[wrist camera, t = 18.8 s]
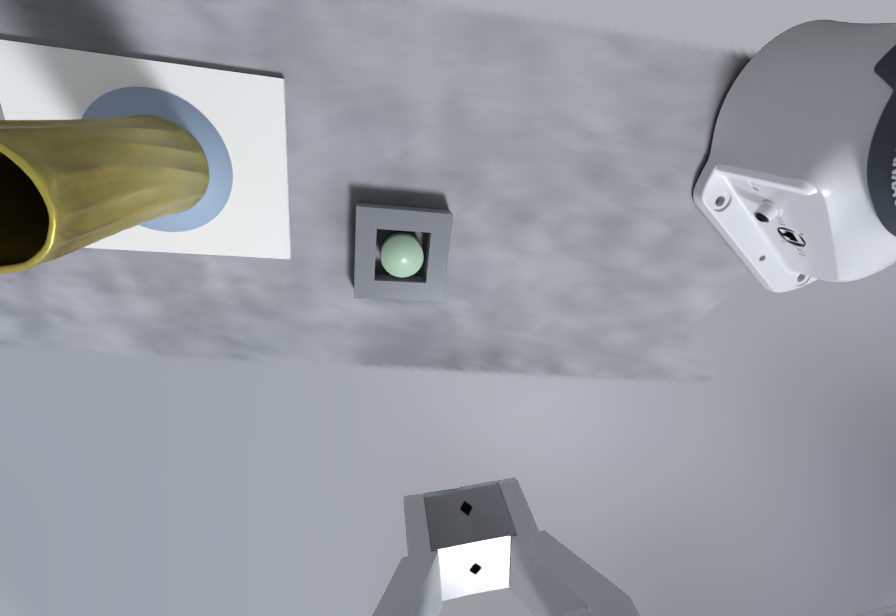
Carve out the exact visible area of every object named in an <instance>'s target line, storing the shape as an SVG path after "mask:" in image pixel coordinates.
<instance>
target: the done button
mask: <svg viewBox="0 0 896 616" xmlns="http://www.w3.org/2000/svg"><path fill="white" fill-rule="evenodd" d="M423 258H424V256H423V250H422V248H421V246H420V243H419V241H418V240H417V239H416V238H415V237H414V236H413V235H411V234H409V233H406V232H397V233H393V234H391V235H390V236H388V237H387V238H386V239H385V240H384V242H383V243H382V246H381V262H382V265H383V267H384V268H385V270H386V271H387V272H388V273H390V274H391V275H393V276H396V277H408V276H411V275H413V274H415V273H416V272H417V271H418V270H419V269H420V267H421V266H422V263H423Z"/></svg>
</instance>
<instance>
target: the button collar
mask: <svg viewBox="0 0 896 616" xmlns="http://www.w3.org/2000/svg"><path fill="white" fill-rule="evenodd" d="M452 218H453V214H452V213H451V212H450V211H449V210H441V209H429V208H417V207H405V206H393V205H382V204H370V203H358V202H357V204H356V233H355V272H354V298H370V299H395V300H420V301H443V296H444V287H445V278H446V270H447V261H448V252H449V244H450V235H451V227H452ZM377 229H386V230H400V231H414V232H427V233H428V237H427V247H426V258H425V268H424V276H408V277H396V276H393V275H389V274H375V256H376V234H377Z"/></svg>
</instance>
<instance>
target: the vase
mask: <svg viewBox="0 0 896 616" xmlns="http://www.w3.org/2000/svg"><path fill="white" fill-rule="evenodd" d="M208 184H209V167H208V163H207V160H206V157H205V155H204V153H203V151H202V149H201V148H200V146H199V145H198V143H197V142H196V141H195V140H194V139H193V138H192V137H191V136H190V135H189V134H188V133H187V132H186V131H185V130H184V129H182V128H181V127H180V126H178V125H177V124H175V123H173V122H171V121H169V120H166V119H164V118H161V117H158V116H153V115H134V116H130V117H120V118H109V119H74V120H0V274H4V273H11V272H18V271H23V270H26V269H30V268H32V267H34V266H37V265H39V264H41V263H45V262H48V261H51V260H54V259H57V258H59V257H62V256H64V255H66V254H69V253H71V252H74V251H76V250H78V249H81V248H83V247H86V246H88V245H90V244H92V243H95V242H97V241H99V240H101V239H104V238H106V237H109V236H112V235H114V234H116V233H118V232H121V231H123V230H126V229H129V228H132V227H134V226H137V225H139V224H142V223H144V222H146V221H149V220H153V219H156V218H159V217H163V216H166V215H169V214H175V213H180V212H184V211H187V210H189V209H191V208H192V207H194V206H195V205H196V204H197V203H198V202H199V201H200V200H201V199H202V198H203V197H204V195H205V194H206V191H207V188H208Z"/></svg>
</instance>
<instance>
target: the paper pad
mask: <svg viewBox="0 0 896 616" xmlns="http://www.w3.org/2000/svg"><path fill="white" fill-rule="evenodd" d="M0 103H1V106H2V110H3V114H4V117H5V120H74V119H109V118H120V117H130V116H134V115H153V116H158V117H161V118H164V119H166V120H169V121H171V122H173V123H175V124H177V125H178V126H180V127H181V128H182V129H184V130H185V131H186V132H187V133H188V134H189V135H190V136H191V137H192V138H193V139H194V140H195V141H196V142H197V143H198V145H199V146H200V148H201V149H202V151H203V153H204V155H205V157H206V160H207V163H208V167H209V184H208V188H207V191H206V194H205V195H204V197H203V198H202V199H201V200H200V201H199V202H198V203H197V204H196V205H195V206H194V207H192V208H191V209H189V210H187V211H184V212H180V213H175V214H169V215H166V216H163V217H159V218H156V219H153V220H149V221H146V222H144V223H142V224H139V225H137V226H134V227H132V228H129V229H126V230H123V231H121V232H118V233H116V234H114V235H112V236H109V237H106V238H104V239H101V240H99V241H97V242H95V243H92V244H90V245H88V246H86V247H83V248H100V249H118V250H136V251H154V252H172V253H190V254H207V255H225V256H243V257H261V258H279V259H291V236H290V209H289V182H288V155H287V128H286V101H285V79H281V78H274V77H267V76H260V75H252V74H245V73H238V72H231V71H223V70H216V69H209V68H202V67H195V66H187V65H180V64H173V63H166V62H158V61H151V60H144V59H137V58H130V57H122V56H115V55H108V54H101V53H93V52H86V51H79V50H72V49H65V48H57V47H50V46H43V45H36V44H29V43H21V42H14V41H7V40H0Z"/></svg>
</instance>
